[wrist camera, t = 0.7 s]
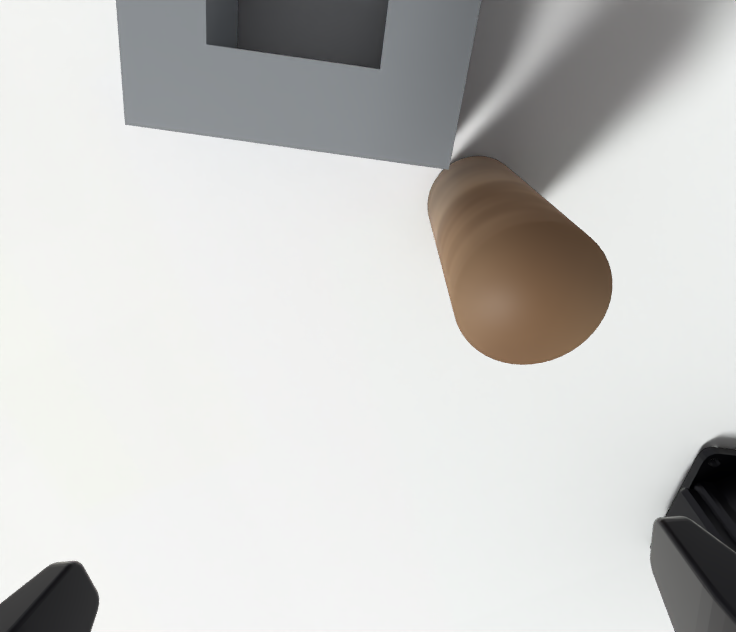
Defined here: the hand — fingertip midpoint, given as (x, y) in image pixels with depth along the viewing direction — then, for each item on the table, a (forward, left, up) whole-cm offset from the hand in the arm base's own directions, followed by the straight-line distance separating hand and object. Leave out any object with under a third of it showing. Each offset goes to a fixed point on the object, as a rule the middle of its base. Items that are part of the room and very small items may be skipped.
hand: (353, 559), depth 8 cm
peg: (-3, -3, -12) cm, 13 cm away
